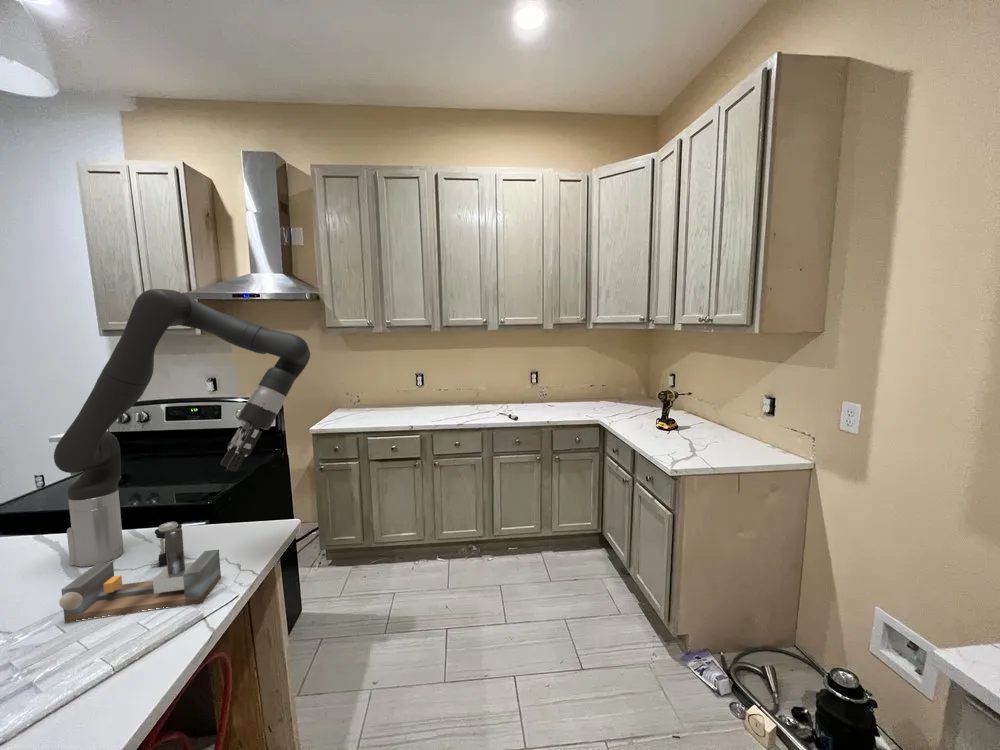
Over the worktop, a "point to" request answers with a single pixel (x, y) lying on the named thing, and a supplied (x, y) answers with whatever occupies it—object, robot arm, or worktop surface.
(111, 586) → the orange block
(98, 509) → the robot arm
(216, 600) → the worktop surface
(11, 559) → the worktop surface
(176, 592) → the rail base
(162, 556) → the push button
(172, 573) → the carriage
